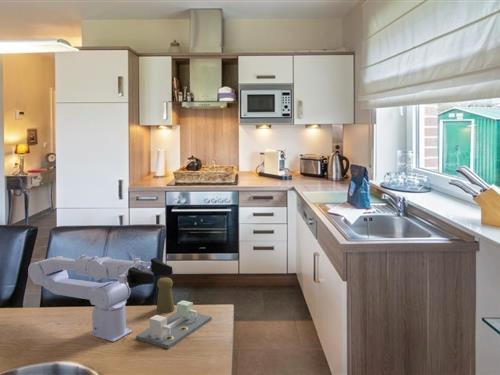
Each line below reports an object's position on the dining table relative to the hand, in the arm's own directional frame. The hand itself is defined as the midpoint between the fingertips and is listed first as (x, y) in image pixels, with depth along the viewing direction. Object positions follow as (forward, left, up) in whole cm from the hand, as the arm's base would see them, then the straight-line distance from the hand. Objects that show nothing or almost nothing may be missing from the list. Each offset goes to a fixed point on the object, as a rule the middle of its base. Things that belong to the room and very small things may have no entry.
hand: (163, 274), depth 125 cm
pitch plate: (-5, +12, -22) cm, 25 cm away
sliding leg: (-4, +17, -20) cm, 27 cm away
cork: (-17, +22, -22) cm, 35 cm away
